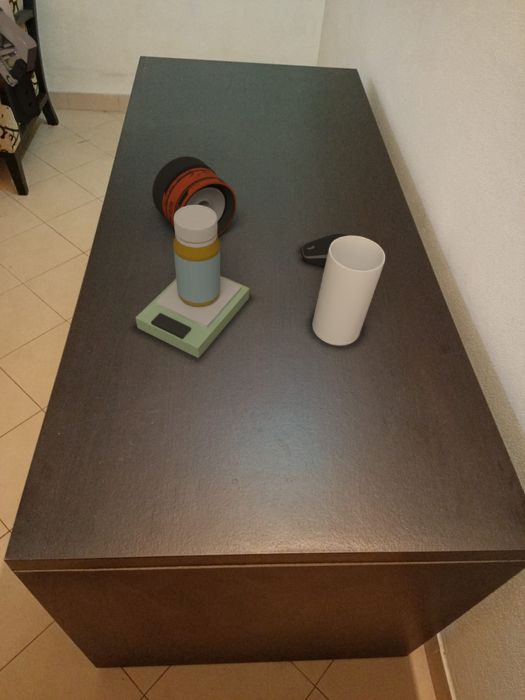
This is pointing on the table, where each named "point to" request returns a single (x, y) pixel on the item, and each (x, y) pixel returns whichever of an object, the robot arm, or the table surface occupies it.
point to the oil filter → (193, 190)
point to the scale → (191, 317)
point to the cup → (347, 288)
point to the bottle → (197, 255)
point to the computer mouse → (319, 249)
